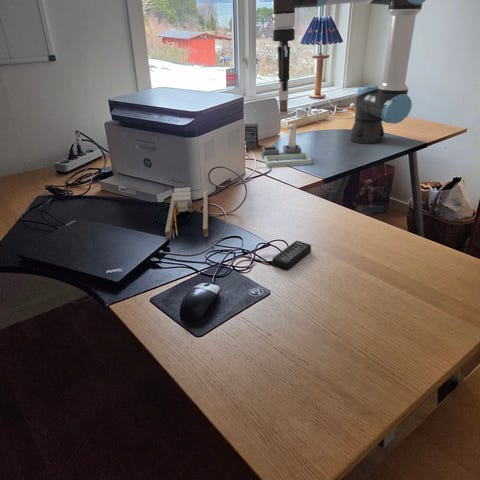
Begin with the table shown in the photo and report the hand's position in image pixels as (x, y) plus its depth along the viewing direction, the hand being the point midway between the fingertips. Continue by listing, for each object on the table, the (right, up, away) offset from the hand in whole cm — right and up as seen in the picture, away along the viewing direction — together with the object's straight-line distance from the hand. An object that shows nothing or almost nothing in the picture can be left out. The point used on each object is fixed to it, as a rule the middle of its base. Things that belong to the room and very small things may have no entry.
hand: (283, 98), depth 156 cm
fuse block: (+1, -18, +18) cm, 25 cm away
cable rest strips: (-31, -45, -29) cm, 62 cm away
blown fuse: (0, -5, +3) cm, 6 cm away
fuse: (+5, -17, +18) cm, 25 cm away
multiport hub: (-3, -57, -53) cm, 78 cm away
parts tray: (+2, -22, +10) cm, 25 cm away
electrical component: (-33, -46, -30) cm, 65 cm away
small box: (-13, -12, +32) cm, 37 cm away
